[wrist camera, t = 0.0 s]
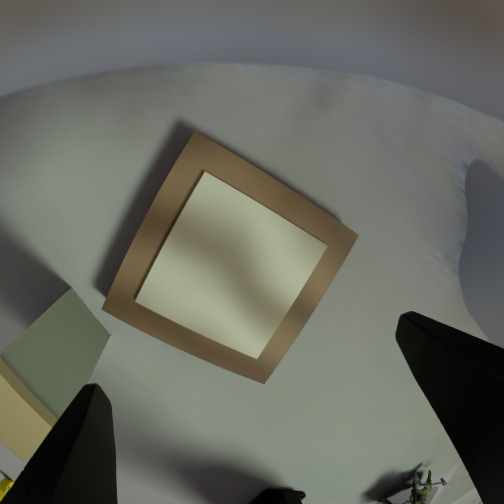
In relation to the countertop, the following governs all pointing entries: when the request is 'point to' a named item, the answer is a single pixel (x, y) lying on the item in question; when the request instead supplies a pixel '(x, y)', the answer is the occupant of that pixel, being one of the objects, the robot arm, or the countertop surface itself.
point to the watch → (5, 486)
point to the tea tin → (47, 372)
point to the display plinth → (227, 262)
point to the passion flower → (418, 491)
